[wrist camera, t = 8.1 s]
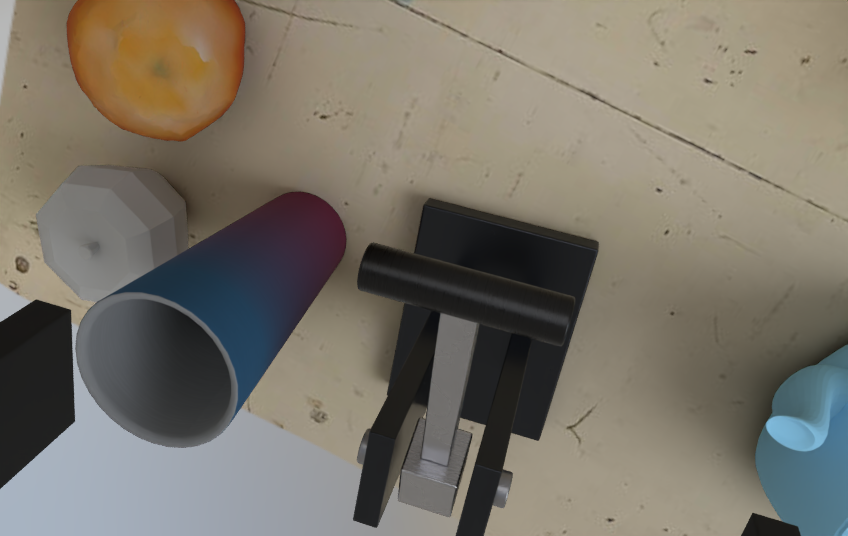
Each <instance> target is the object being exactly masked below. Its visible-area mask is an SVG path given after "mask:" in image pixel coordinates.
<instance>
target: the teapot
mask: <svg viewBox="0 0 848 536" xmlns="http://www.w3.org/2000/svg"><path fill="white" fill-rule="evenodd" d="M772 410H773V412H772V414H771V416H770V417H769V419H768V420H767V422H766V424H765V425H764V428H763V430H762V432H761V434H760V437H759V439H758V444H757V448H756V453H755V462H756V468H757V472H758V475H759V478H760V481H761V485H762V487H763V489H764V491H765V493H766V495H767V497H768V499H769V501H770V502H771V504H772V506H773V508H774V509H775V511H776V512H777V514H778V516H779V517H780V518H781V520H782V521H783V522H785V523H788V524H792V525H795V526H798V528H799V531H800V535H801V536H848V344H847V345H845V346H844V347H842V348H840V349H838V350H837V351H835V352H834V353H832V354H831V355H829V356H828V357H826V358H825V359H823V360H822V361H821V362H819V363H818V364H817V365H813V366H808V367H805V368H803V369H800V370H799V371H797V372H796V373H794V374H793V375H791V376H790V377H789V378H788V379H787V380H786V381H785V382H784V383H783V384H782V385H781V386H780V387H779V389H778V390H777V391H776V393H775V395H774V398H773V401H772Z"/></svg>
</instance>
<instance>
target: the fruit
mask: <svg viewBox="0 0 848 536" xmlns="http://www.w3.org/2000/svg"><path fill="white" fill-rule="evenodd" d="M67 40H68V48H69V54H70V60H71V64H72V68H73V71H74V74H75V77H76V80H77V82H78V84H79V86H80V88H81V89H82V91H83V92H84V93H85V94H86V95H87V96H88V98H89V99H90V100H91V102H92V104H93V106H94V107H95V108H97V110H98V111H99V112H100V113H101V114H102V115H103V116H105V117H106V118H107V119H108V120H109V121H111V122H112V123H114V124H115V125H117V126H118V127H120V128H121V129H124V130H127V131H130V132H132V133H136V134H139V135H142V136H146V137H150V138H154V139H161V140H166V141H170V140H174V141H180V142H181V141H186V140H187V139H189V138H190V137H192V136H194V135H195V134H197V133H198V132H200V131H202V130H203V129H205V128H206V127H208V126H209V125H210V124H212V123H213V122H215V121H216V120H217V119H218V118H220V117H221V116H222V115H223V114H224V113H225V112H226V111H227V110H228V109H229V107H230V106H231V105H232V103H233V101H234V100H235V97H236V94H237V91H238V88H239V86H240V83H241V79H242V75H243V68H244V43H245V22H244V19H243V16H242V14H241V11H240V9H239V7H238V5H237V4H236V2H235V1H234V0H78V1H77V2H76V3H75V5H74V6H73V8H72V10H71V11H70V13H69V16H68V20H67Z"/></svg>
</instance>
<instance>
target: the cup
mask: <svg viewBox="0 0 848 536" xmlns="http://www.w3.org/2000/svg"><path fill="white" fill-rule="evenodd" d="M345 248H346V233H345V229H344V226H343V223H342V221H341V219H340V217H339V216H338V214H337V213H336V211H335V210H334V209H333V208H332V207H331V206H330V205H329V204H328V203H327V202H325V201H324V200H322V199H321V198H319V197H317V196H315V195H312V194H309V193H304V192H290V193H286V194H283V195H281V196H279V197H277V198H275V199H274V200H272V201H270V202H268V203H267V204H265V205H263V206H262V207H260V208H258V209H256V210H255V211H253V212H251V213H249V214H248V215H246V216H244V217H243V218H241V219H239V220H237V221H236V222H234V223H232V224H230V225H229V226H227V227H225V228H224V229H222V230H220V231H218V232H217V233H215V234H213V235H212V236H210V237H208V238H206V239H205V240H203V241H201V242H199V243H198V244H196V245H194V246H193V247H191V248H189V249H187V250H186V251H184V252H182V253H180V254H179V255H177V256H175V257H174V258H172V259H170V260H168V261H167V262H165V263H163V264H162V265H160V266H158V267H156V268H155V269H153V270H151V271H149V272H148V273H146V274H144V275H143V276H141V277H139V278H137V279H136V280H134V281H132V282H130V283H129V284H127V285H125V286H124V287H122V288H120V289H118V290H117V291H115V292H113V293H112V294H110V295H108V296H106V297H105V298H103V299H101V300H99V301H98V302H97V303H96V304H95V305H93V306H92V307H91V308H90V309H89V310H88V311H87V313H86V314H85V316H84V317H83V319H82V321H81V323H80V326H79V329H78V332H77V337H76V357H77V364H78V367H79V370H80V373H81V377H82V379H83V381H84V383H85V385H86V387H87V389H88V391H89V393H90V394H91V396H92V397H93V398H94V400H95V401H96V403H97V404H98V405H99V407H100V408H101V409H102V410H103V411H104V412H105V413H106V414H107V415H108V416H109V417H110V418H111V419H112V420H113V421H115V422H116V423H117V424H118V425H120V426H121V427H122V428H123V429H125V430H127V431H128V432H130V433H132V434H133V435H135V436H137V437H139V438H141V439H144V440H146V441H149V442H151V443H154V444H158V445H162V446H166V447H178V448H186V447H193V446H198V445H201V444H204V443H207V442H209V441H211V440H213V439H214V438H216V437H217V436H219V435H220V434H221V433H222V432H223V431H224V430H225V429H226V428H227V427H228V426H229V424H230V423H231V422H232V420H233V419H234V417H235V415H236V414H237V413H238V411H239V410H240V408H241V407H242V405H243V404H244V402H245V401H246V399H247V398H248V396H249V395H250V394H251V392H252V391H253V389H254V388H255V386H256V385H257V383H258V382H259V380H260V379H261V377H262V376H263V374H264V373H265V371H266V370H267V369H268V367H269V366H270V364H271V363H272V361H273V360H274V358H275V357H276V355H277V354H278V352H279V351H280V349H281V348H282V346H283V345H284V344H285V342H286V341H287V339H288V338H289V336H290V335H291V333H292V332H293V330H294V329H295V327H296V326H297V324H298V323H299V321H300V320H301V318H302V317H303V316H304V314H305V313H306V311H307V310H308V308H309V307H310V305H311V304H312V302H313V301H314V299H315V298H316V296H317V295H318V293H319V292H320V291H321V289H322V288H323V286H324V285H325V283H326V282H327V280H328V279H329V277H330V276H331V274H332V273H333V271H334V270H335V268H336V267H337V266H338V264H339V263H340V261H341V259H342V257H343V255H344V252H345Z"/></svg>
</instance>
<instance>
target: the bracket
mask: <svg viewBox="0 0 848 536" xmlns="http://www.w3.org/2000/svg"><path fill="white" fill-rule="evenodd" d="M598 248H599V242H597V241H593V240H589V239H585V238H581V237H578V236H574V235H570V234H566V233H562V232H558V231H554V230H551V229H547V228H543V227H539V226H535V225H531V224H527V223H524V222H520V221H516V220H512V219H508V218H504V217H500V216H497V215H493V214H489V213H485V212H481V211H477V210H473V209H470V208H466V207H462V206H458V205H454V204H450V203H447V202H443V201H439V200H435V199H431V198H429V199H428V200H427V201H426V203H425V204H424V206H423V210H422V216H421V221H420V226H419V231H418V236H417V241H416V247H415V252H414V254H418V255H422V256H426V257H429V258H433V259H437V260H440V261H444V262H448V263H451V264H455V265H459V266H462V267H466V268H470V269H474V270H477V271H481V272H485V273H488V274H492V275H496V276H499V277H503V278H507V279H510V280H514V281H518V282H522V283H525V284H529V285H533V286H536V287H540V288H544V289H547V290H551V291H555V292H558V293H562V294H566V295H570V296H573V297H574V298H575V305H574V310H573V314H572V318H571V322H570V325H569V329H568V332H567V336H566V339H565V341H564V344H563V345H562V346H556V345H553V344H549V343H546V342H542V341H539V340H535V339H531V338H528V337H524V336H521V335H517V334H514V333H510V332H507V331H503V330H499V329H496V328H492V327H489V326H485V325H482V324H480V325H479V330H478V335H477V339H476V344H475V349H474V354H473V359H472V363H471V368H470V373H469V378H468V383H467V387H466V392H465V397H464V402H463V407H462V411H461V416H460V418H464V419H467V420H470V421H474V422H477V423H480V424H484V425H486V427H485V430H484V434H483V437H482V441H481V445H480V448H479V452H478V455H477V459H476V462H475V466H474V470H473V473H472V477H471V481H470V484H469V488H468V492H467V496H466V499H465V503H464V507H463V510H462V514H461V518H460V522H459V525H458V529H457V533H456V536H484V533H485V529H486V526H487V522H488V519H489V516H490V512H491V509H492V505H494V506H497V507H500V508H504V507H505V504H506V501H507V497H508V494H509V490H510V486H511V482H512V477H513V473H512V472H509V471H506V470H503V466H504V462H505V457H506V453H507V448H508V444H509V440H510V435H511V433H514V434H517V435H520V436H524V437H527V438H530V439H534V440H537V441H539V439H540V436H541V433H542V430H543V427H544V423H545V420H546V417H547V414H548V411H549V407H550V404H551V401H552V398H553V395H554V391H555V388H556V385H557V382H558V379H559V375H560V372H561V369H562V366H563V363H564V359H565V356H566V353H567V350H568V347H569V343H570V340H571V337H572V334H573V331H574V327H575V324H576V321H577V318H578V314H579V311H580V308H581V305H582V302H583V298H584V295H585V292H586V289H587V286H588V282H589V279H590V276H591V273H592V270H593V266H594V263H595V260H596V257H597V254H598ZM439 320H440V313H439V312H435V311H432V310H428V309H425V308H421V307H418V306H414V305H410V304H407V303H404V309H403V314H402V319H401V324H400V329H399V334H398V340H397V345H396V350H395V355H394V360H393V365H392V371H391V376H390V381H389V386H388V391H387V395H388V397H387V399H386V401H385V402H384V404H383V406H382V408H381V410H380V412H379V414H378V416H377V418H376V420H375V422H374V424H373V426H372V428H371V429H367V430H366V432H365V434H364V436H363V438H362V441H361V444H360V447H359V451H358V456H357V462H358V463H360V464H363V469H362V474H361V479H360V485H359V491H358V496H357V501H356V506H355V512H354V517H353V520H354V521H357V522H360V523H363V524H366V525H369V526H372V527H376V528H377V526H378V524H379V522H380V519H381V517H382V515H383V512H384V510H385V507H386V505H387V503H388V500H389V498H390V495H391V493H392V490H393V488H394V486H395V483H396V481H397V479H398V476H399V474H400V471H401V467H402V465H403V462H404V459H405V456H406V453H407V450H408V447H409V444H410V442H411V439H412V436H413V433H414V430H415V427H416V424H417V421H418V419H419V418H423V416H424V414H425V412H426V409H427V406H428V399H429V391H430V384H431V377H432V370H433V363H434V356H435V348H436V341H437V334H438V327H439Z"/></svg>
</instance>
